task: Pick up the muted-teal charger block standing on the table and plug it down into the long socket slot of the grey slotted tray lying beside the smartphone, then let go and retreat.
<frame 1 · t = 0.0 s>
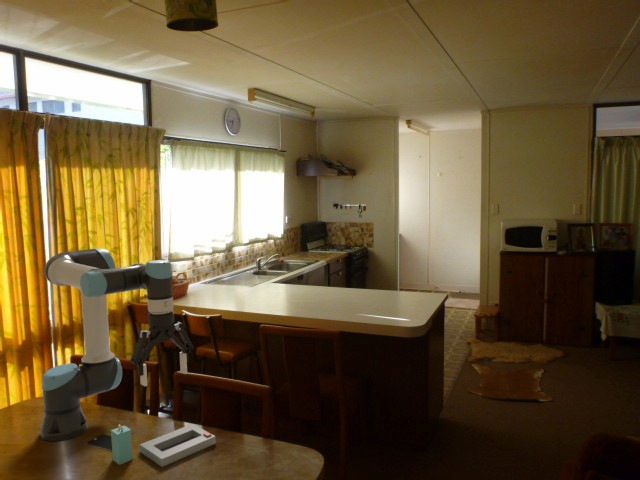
hand: (164, 378, 163), 28 cm above the table, fingers open, 13 cm apart
grey slotted tray: (178, 448, 176), on the table
smartphone: (109, 444, 181), on the table
charger block: (122, 459, 170), on the table
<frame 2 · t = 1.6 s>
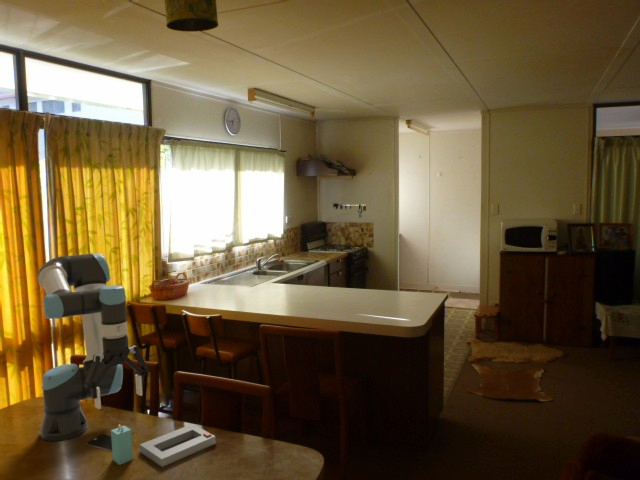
hand: (119, 401, 167), 20 cm above the table, fingers open, 13 cm apart
nothing on the table moved.
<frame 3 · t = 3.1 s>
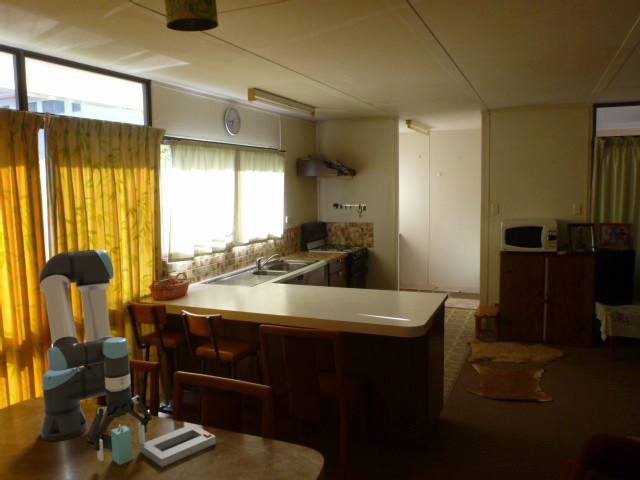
hand: (122, 451, 169), 3 cm above the table, fingers open, 13 cm apart
nothing on the table moved.
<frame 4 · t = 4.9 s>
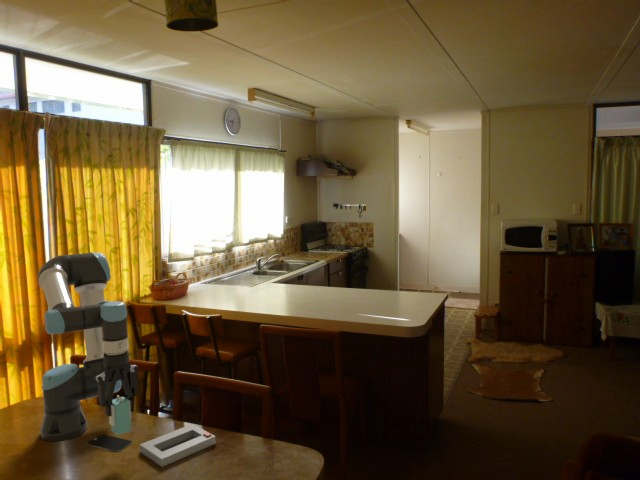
hand: (120, 421, 169), 13 cm above the table, fingers closed on charger block, 4 cm apart
charger block: (121, 430, 169), point 10 cm above the table, touching gripper
everything else where it was.
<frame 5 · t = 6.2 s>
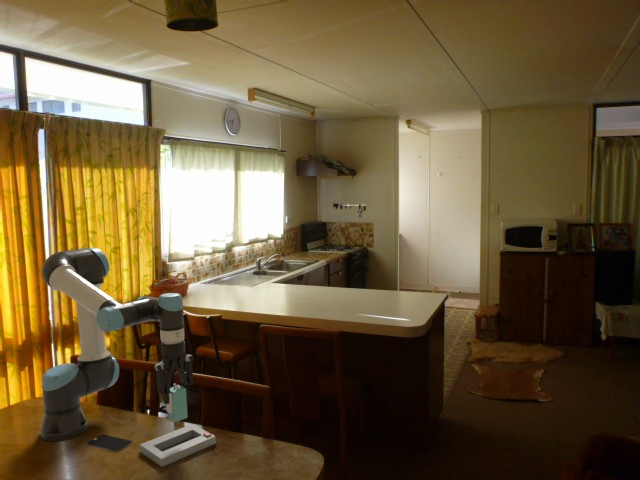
hand: (176, 409, 175), 14 cm above the table, fingers closed on charger block, 4 cm apart
charger block: (178, 418, 175), point 11 cm above the table, touching gripper
everything else where it was.
when the fingers open (2 cm above the table, at t = 7.9 s): charger block stays where it is, resting on grey slotted tray.
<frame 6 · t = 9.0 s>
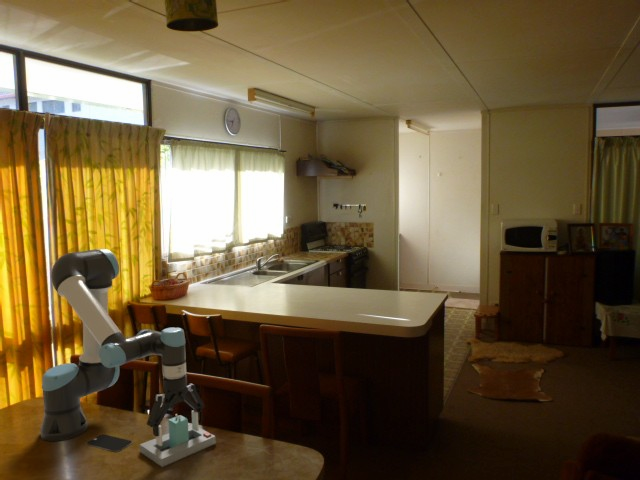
hand: (177, 437, 176), 4 cm above the table, fingers open, 13 cm apart
charger block: (179, 448, 176), resting on grey slotted tray
everything else where it was.
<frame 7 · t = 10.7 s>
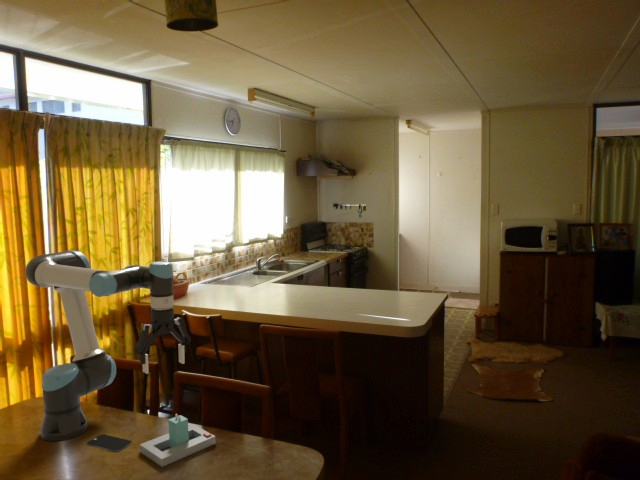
hand: (164, 367, 182), 25 cm above the table, fingers open, 13 cm apart
nothing on the table moved.
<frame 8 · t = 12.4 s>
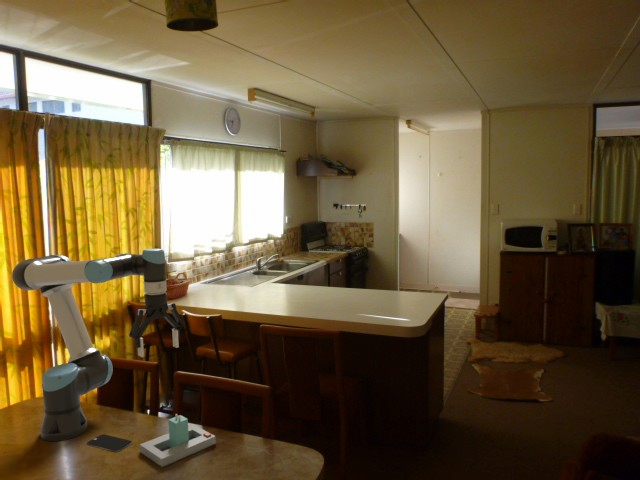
hand: (158, 351, 188), 29 cm above the table, fingers open, 13 cm apart
nothing on the table moved.
at the end: charger block inside the target area on the grey slotted tray (0.6 cm from its centre), point 0.3 cm above the grey slotted tray's base; charger block tilted 0°; the gripper is holding nothing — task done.
